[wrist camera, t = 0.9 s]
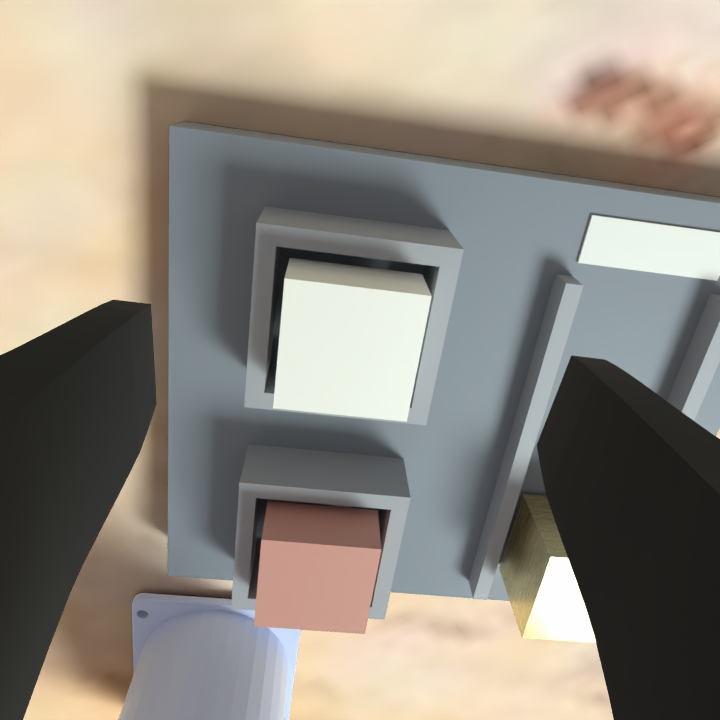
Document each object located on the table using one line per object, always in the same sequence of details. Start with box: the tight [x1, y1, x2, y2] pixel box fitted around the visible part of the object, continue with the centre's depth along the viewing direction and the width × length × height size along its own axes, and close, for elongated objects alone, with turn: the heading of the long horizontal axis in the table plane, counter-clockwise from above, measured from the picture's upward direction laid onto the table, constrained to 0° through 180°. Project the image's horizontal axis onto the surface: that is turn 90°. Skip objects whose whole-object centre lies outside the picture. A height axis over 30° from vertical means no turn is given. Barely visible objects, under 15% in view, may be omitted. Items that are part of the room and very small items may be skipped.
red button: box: [254, 501, 381, 634], centre depth 22 cm, size 4×4×2 cm
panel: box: [168, 121, 720, 619], centre depth 23 cm, size 18×21×4 cm
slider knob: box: [499, 494, 596, 643], centre depth 24 cm, size 4×4×4 cm
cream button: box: [273, 258, 432, 422], centre depth 18 cm, size 4×4×2 cm
